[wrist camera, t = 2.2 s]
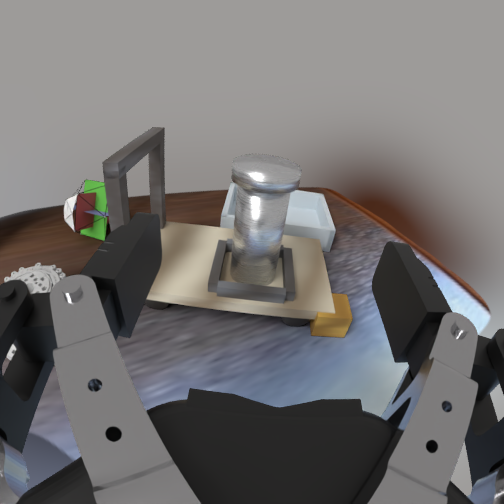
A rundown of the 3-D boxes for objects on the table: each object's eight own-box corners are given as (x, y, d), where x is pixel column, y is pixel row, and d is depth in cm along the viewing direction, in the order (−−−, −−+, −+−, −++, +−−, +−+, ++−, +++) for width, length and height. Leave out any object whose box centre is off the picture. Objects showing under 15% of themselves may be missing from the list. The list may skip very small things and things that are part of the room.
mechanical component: (114, 322, 24) (58, 275, 28) (104, 284, 22) (47, 240, 25) (31, 392, 17) (-13, 325, 20) (5, 359, 14) (-32, 291, 18)
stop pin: (220, 288, 25) (228, 172, 20) (227, 253, 29) (236, 151, 24) (281, 295, 25) (305, 182, 20) (280, 259, 30) (298, 159, 24)
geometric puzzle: (101, 195, 38) (71, 163, 30) (141, 203, 37) (114, 168, 29) (80, 243, 36) (44, 218, 28) (120, 255, 35) (85, 230, 27)
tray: (219, 239, 36) (220, 216, 34) (229, 201, 44) (231, 182, 42) (329, 252, 36) (335, 230, 34) (318, 212, 44) (323, 194, 42)
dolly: (122, 311, 25) (96, 167, 17) (158, 239, 34) (154, 126, 27) (344, 337, 25) (399, 201, 18) (327, 259, 35) (356, 149, 27)
